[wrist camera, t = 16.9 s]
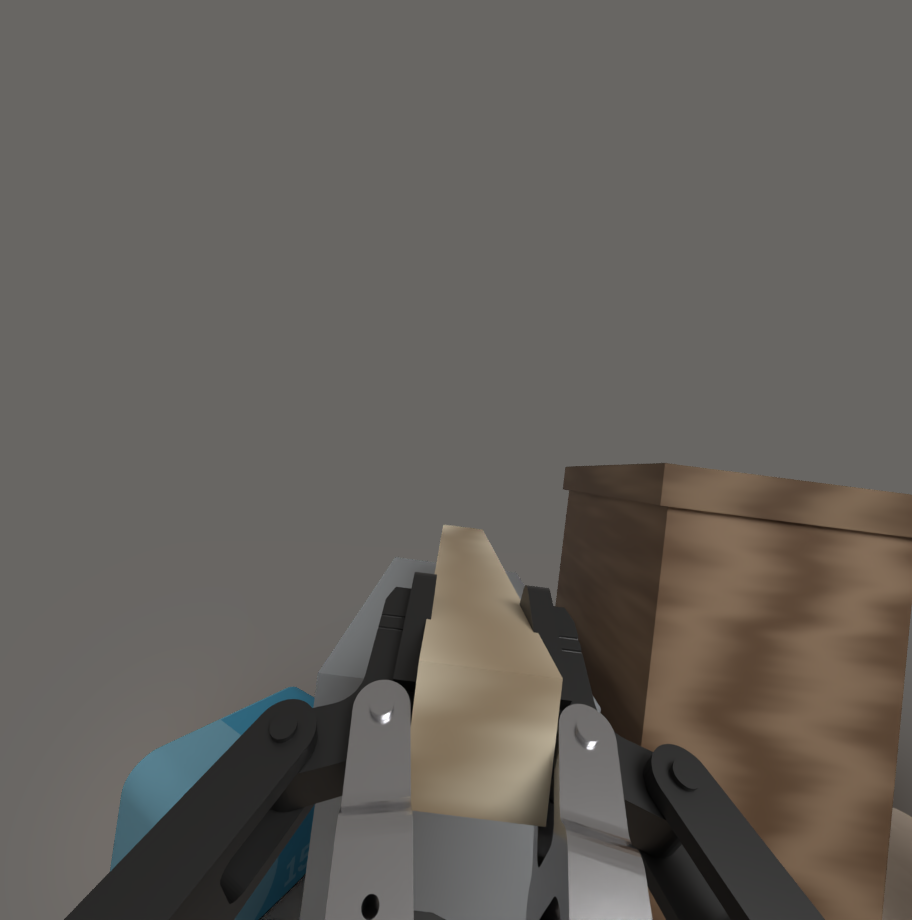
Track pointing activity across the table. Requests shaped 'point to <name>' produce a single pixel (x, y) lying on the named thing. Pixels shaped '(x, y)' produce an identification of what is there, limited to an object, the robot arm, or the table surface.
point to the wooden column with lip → (754, 649)
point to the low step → (434, 835)
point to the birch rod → (482, 694)
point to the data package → (179, 769)
